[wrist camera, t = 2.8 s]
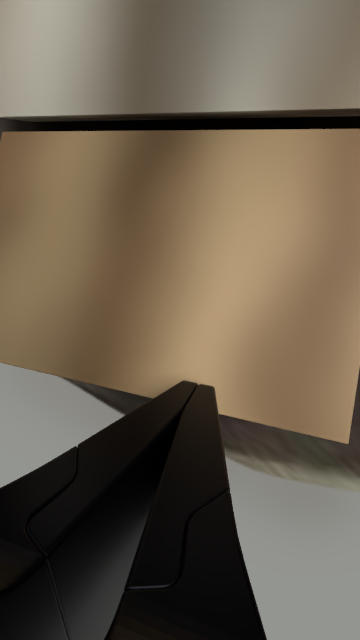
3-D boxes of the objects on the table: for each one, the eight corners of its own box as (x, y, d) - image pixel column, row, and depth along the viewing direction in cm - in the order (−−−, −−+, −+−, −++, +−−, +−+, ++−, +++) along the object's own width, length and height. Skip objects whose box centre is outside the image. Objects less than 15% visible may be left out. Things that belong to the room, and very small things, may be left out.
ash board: (455, -169, 8) (496, -256, 6) (385, 115, 11) (401, 107, 9) (2, -70, 12) (-48, -108, 10) (32, 122, 15) (-4, 116, 13)
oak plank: (373, 166, 11) (394, 128, 9) (334, 427, 11) (348, 443, 9) (36, 159, 15) (2, 131, 13) (-2, 352, 15) (-43, 352, 13)
